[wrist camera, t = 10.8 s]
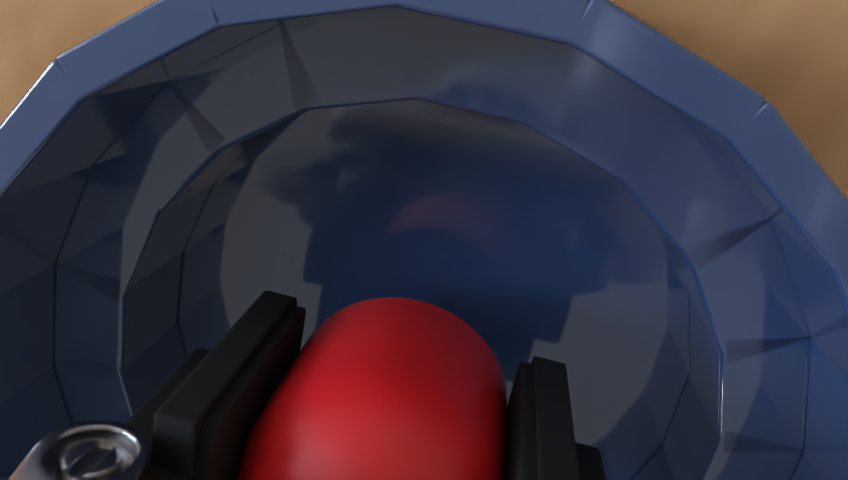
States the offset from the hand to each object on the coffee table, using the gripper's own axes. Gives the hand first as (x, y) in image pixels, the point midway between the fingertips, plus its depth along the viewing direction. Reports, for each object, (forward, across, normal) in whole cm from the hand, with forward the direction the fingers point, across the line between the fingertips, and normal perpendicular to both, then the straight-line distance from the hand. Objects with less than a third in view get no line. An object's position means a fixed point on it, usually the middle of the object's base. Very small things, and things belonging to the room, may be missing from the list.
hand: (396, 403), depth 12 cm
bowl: (+3, 0, 0) cm, 3 cm away
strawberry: (0, 0, 0) cm, 0 cm away
